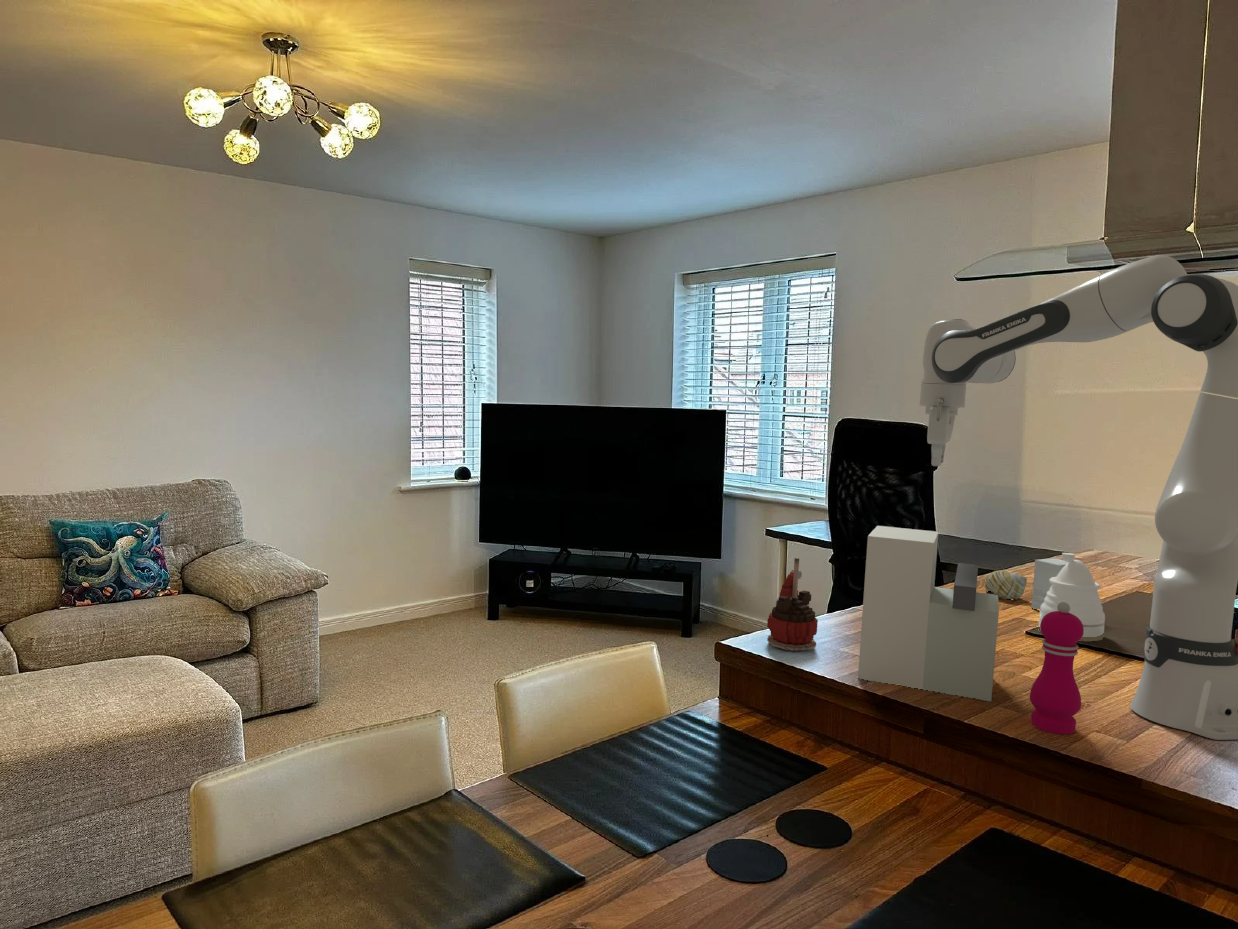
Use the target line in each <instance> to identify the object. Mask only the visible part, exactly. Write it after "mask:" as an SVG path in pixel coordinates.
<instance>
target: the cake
mask: <svg viewBox="0 0 1238 929" xmlns="http://www.w3.org/2000/svg"><path fill="white" fill-rule="evenodd" d="M799 567H800V558H799V557H795V558H794V563H793V569H791V571H790V572H789V573H788V574H787V576H786V578H785V579H784V582H783V584H782V585H781V588H780V592H779V596H778V598H777V599H776V600H775V607H772V609H771V612H770V613H769V615H768V618H767V621H766V622H767V624H766V625H767V629H768V630H769V632H770V634H769V635H768V636H767V640H766V641H767V642H768V644H769V645H772V646H773V647H776V648H780V649H783V650H786V649H787V650H786V651H789V650H790V651H793V650H795V651H798V650H801V651H805V650H806V651H810V650H813V649H815V648H816V646H817V642H816V641H815V639H814V638H815V635H817V633H818V624H819V623H818V622H819V621H818V620H819V619H818V618H816V611H815V610H813V607H810V602H811V601H812V594H811V591H808V590H801V591H799V590H798V587H799V586H798V584H799V580H800V579H801V578H802V576H803V571H802V570H800V569H799Z"/></svg>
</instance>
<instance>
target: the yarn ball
mask: <svg viewBox="0 0 1238 929" xmlns="http://www.w3.org/2000/svg"><path fill="white" fill-rule="evenodd" d="M1027 580H1028V578H1027V576H1024V575H1021V574H1019V573H1017V572H1009V571H1006V570H994V571H992V572H989V574H988V575H987V576H986V577H985V582H984V588H985V593H988V592H987V591H991V592H990V593H992V594H995V595H998V598H1001V599H1003V600H1006V599H1016V600H1018V599H1020V598H1022V596H1023V595H1024V592H1025V589H1026V586H1027V582H1028V581H1027Z"/></svg>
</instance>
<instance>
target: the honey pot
mask: <svg viewBox="0 0 1238 929" xmlns="http://www.w3.org/2000/svg"><path fill="white" fill-rule="evenodd" d="M1061 556H1062V560H1064V561H1065V562H1069V563H1067V564H1066V565H1065V566H1064V567H1063V568H1062V570H1061V571H1060V572H1059V574H1058V575H1057V577H1052V578H1050V579H1049V581H1050V583H1051V584H1052V586H1051V587H1050V590H1049V591H1048V592H1047V596H1046V597H1045V599H1044V603H1043V604H1042V605H1041V607H1040V609H1041V610H1040V611H1039V617H1038V627H1040V624H1041V621H1042V618H1043V617H1044V616H1045V615H1046V614H1048V613H1050V612H1054V611H1058V609H1057V606H1058V604H1059V603H1061V602H1066V603H1067V604H1069V606H1070V610H1069V612H1068V613H1071V614H1073V615H1075V616H1076V617H1078V618H1079V619H1080V621H1081V622H1082V624H1083V629H1084V633H1083V636H1082V637H1097V636H1100V635H1102V634H1103V633H1105V622H1106V621H1105V619H1106V615H1105V612H1104V610H1103V609H1104V608H1103V605H1102V598H1101V597H1100V595H1099V591H1098V590H1099V589H1101V585H1100V583H1098V582H1096V581H1095V580H1094V577H1093V575H1092V573H1091V571H1090V569H1089V567H1088V566H1087V565H1086V564H1085V562H1082V561H1081V560H1080V559H1075V558H1076V554H1075V553H1071V552H1061Z"/></svg>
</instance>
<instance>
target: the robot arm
mask: <svg viewBox="0 0 1238 929" xmlns="http://www.w3.org/2000/svg"><path fill="white" fill-rule="evenodd" d="M1150 323H1154V325H1155V327H1156V328H1157V329H1158V331H1159V332H1161V333H1162V334H1164V335H1165V337H1167V338H1169V339H1170V340H1172V341H1174V342H1176V343H1179V344H1181V345H1182V346H1186V347H1188V348H1189V349H1191V350H1193V351H1195V352H1198V353H1199V352H1203V354H1204V355H1205V357H1206V360H1207V369H1206V373H1205V377H1204V379H1203V383H1202V386H1201V388H1200V392H1199V395H1198V397H1197V400H1196V404H1195V407H1194V410H1193V413H1192V415H1191V419H1190V422H1189V425H1188V428H1187V431H1186V434H1185V436H1184V439H1183V442H1182V444H1181V447H1180V449H1179V452H1178V454H1177V456H1176V458H1175V460H1174V463H1173V465H1172V468H1171V469H1170V472H1169V475H1168V477H1167V479H1166V483H1165V485H1164V487H1163V491H1162V493H1161V495H1160V498H1159V501H1158V502H1157V506H1156V509H1155V513H1154V523H1155V524H1154V525H1155V528H1156V531H1157V533H1158V535H1159V536H1160V538H1161V539H1162V546H1161V551H1160V556H1159V561H1158V565H1157V570H1156V574H1155V577H1154V581H1153V582H1154V583H1153V591H1152V592H1153V593H1152V602H1151V611H1150V612H1151V613H1150V622H1149V625H1148V626H1146V631H1145V637H1144V638H1145V639H1144V646H1143V647H1144V649H1143V659H1144V662H1143V669H1142V671H1141V672H1142V673H1141V677H1140V679H1139V683H1138V687H1137V689H1136V691H1135V693H1134V696H1133V698H1132V700H1131V702H1130V705H1129V707H1130V709H1131V710H1132V711H1133V712H1134V713H1136V714H1137V715H1139V716H1141V717H1142V718H1145V719H1147V720H1150V721H1151V722H1154V723H1157V724H1160V725H1163V726H1166V727H1170V728H1173V729H1178V730H1182V731H1187V732H1190V733H1193V734H1196V735H1199V736H1202V737H1205V738H1209V739H1212V740H1216V741H1217V740H1218V741H1220V740H1221V741H1222V740H1225V741H1226V740H1227V741H1228V740H1238V642H1237V641H1235V640H1234V639H1232V630H1233V622H1234V621H1233V619H1234V613H1235V602H1236V595H1237V594H1236V593H1237V588H1238V285H1237V284H1236V283H1234V282H1232V281H1229V280H1226V279H1223V278H1218V277H1215V276H1212V275H1208V274H1204V273H1202V274H1201V273H1192V274H1188V273H1187V271H1186V269H1185V268H1184V265H1182V264H1181V263H1180V262H1179V261H1178V260H1177V259H1175V258H1173V257H1172V256H1169V255H1163V254H1158V255H1153V256H1149V257H1146V258H1142V259H1138V260H1136V261H1132V262H1129V263H1127V264H1123V265H1120V266H1118V267H1116V268H1113V269H1111V270H1108V271H1107V272H1104V273H1102V274H1100V275H1097V276H1095V277H1093V278H1091V279H1089V280H1087V281H1085V282H1083V283H1080V284H1079V285H1077V286H1074V287H1072V288H1071V289H1069V290H1066V291H1064V292H1063V293H1061V294H1059V295H1055V296H1054V297H1051V298H1049V299H1047V300H1045V301H1043V302H1041V303H1039V304H1036V305H1033V306H1031V307H1028V308H1025V309H1023V310H1021V311H1018V312H1015V313H1012V314H1010V315H1008V316H1006V317H1003V318H1001V319H998V320H996V321H994V322H990V323H988V324H985V325H983V326H980V327H978V328H976V327H974V326H972V325H971V324H970V323H969V322H968V321H967V320H965V319H961V318H952V319H943V320H939V321H936V322H934V323H933V324H931V325H930V326H929V327H928V330H927V333H926V336H925V340H924V346H923V354H922V366H923V376H922V379H921V383H920V394H919V406H921V407H925V412H924V414H925V415H928V422H927V424H928V425H927V434H926V438H927V440H926V441H927V444H929V445H931V447H930V448H931V449H930V450H931V451H930V452H931V463H930V464H931V466H932V467H940V466H941V465H942V464H943V462H944V456H945V451H946V447H947V446H946V445H947V443H948V442H950V440H951V438H952V434H953V429H954V424H955V420H956V416H958V413H959V412H958V409H959V408H965V406H966V404H965V403H966V392H967V383H968V384H969V383H971V384H987V385H989V384H995V383H1000V382H1002V381H1004V380H1006V379H1007V378H1008V377H1009V376H1010V375H1011V373H1012V372H1013V371H1014V368H1015V365H1016V352H1015V351H1018V350H1021V349H1022V348H1025V347H1026V348H1027V347H1028V346H1031V345H1037V344H1042V343H1043V344H1044V343H1092V342H1097V341H1102V340H1108V339H1111V338H1115V337H1116V336H1120V335H1122V334H1125V333H1127V332H1130V331H1132V330H1135V329H1137V328H1139V327H1140V328H1141V326H1144V325H1147V324H1150Z"/></svg>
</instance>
